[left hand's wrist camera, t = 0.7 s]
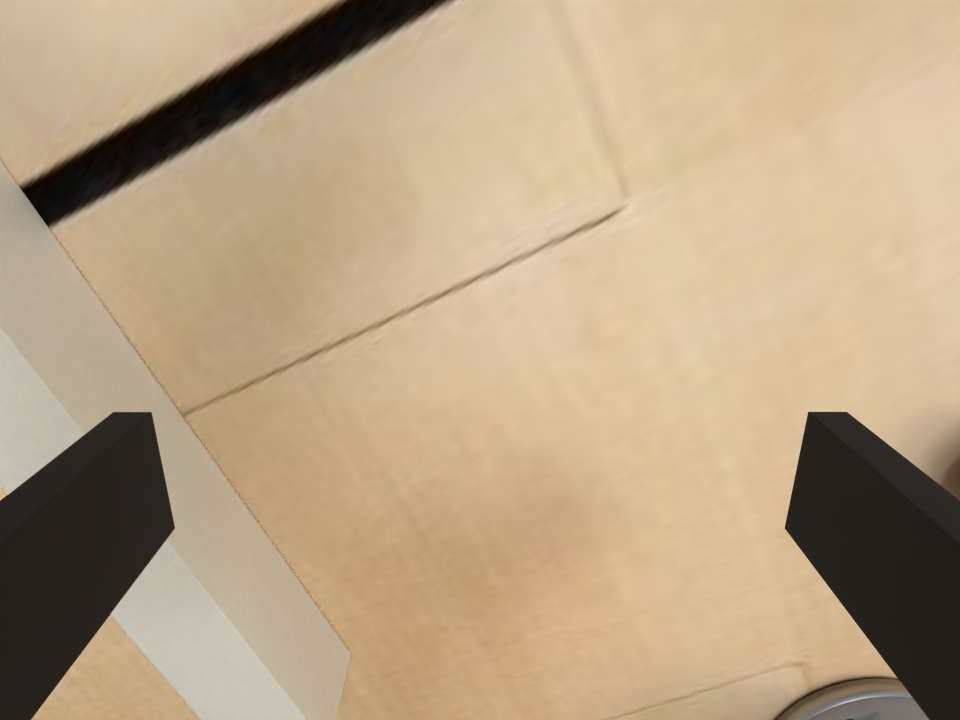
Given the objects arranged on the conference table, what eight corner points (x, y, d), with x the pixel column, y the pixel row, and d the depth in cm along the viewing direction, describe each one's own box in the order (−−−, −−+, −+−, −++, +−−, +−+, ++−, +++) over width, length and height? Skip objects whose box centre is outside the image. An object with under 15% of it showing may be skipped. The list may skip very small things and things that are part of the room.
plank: (-294, -67, 30) (-529, -125, 23) (-205, -130, 30) (-420, -210, 23) (284, 680, 47) (249, 778, 40) (352, 654, 46) (329, 750, 39)
